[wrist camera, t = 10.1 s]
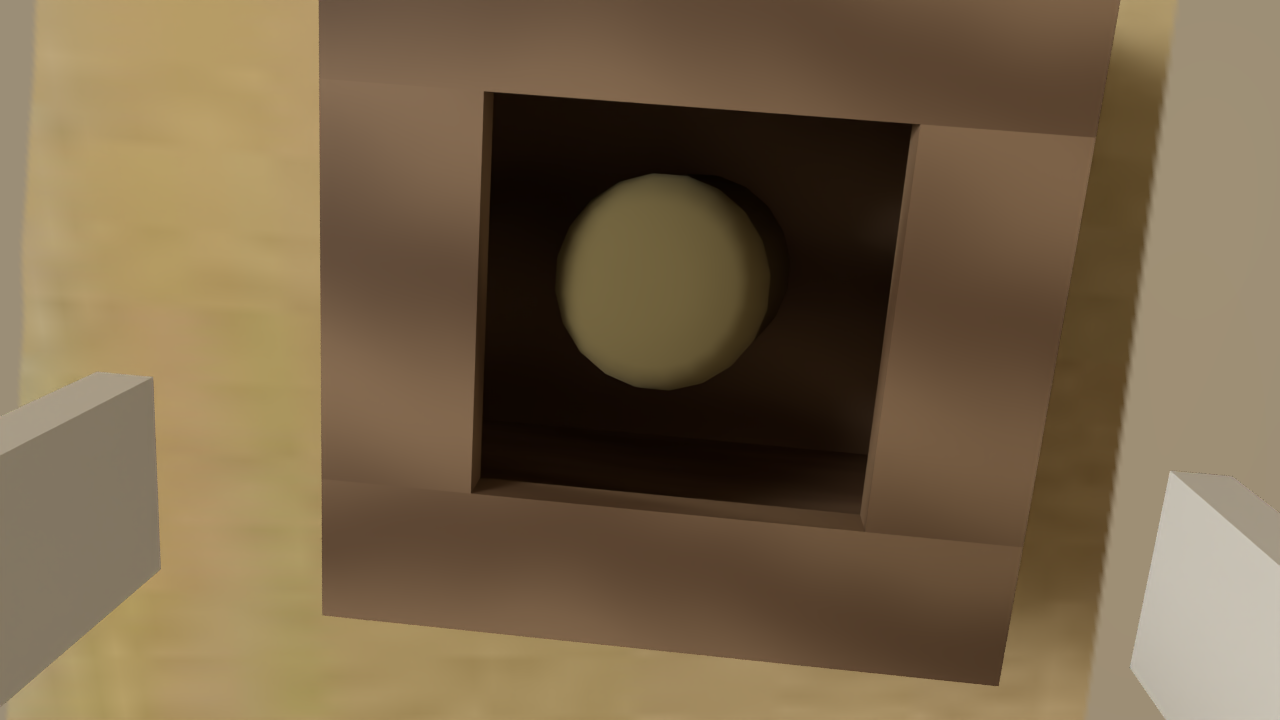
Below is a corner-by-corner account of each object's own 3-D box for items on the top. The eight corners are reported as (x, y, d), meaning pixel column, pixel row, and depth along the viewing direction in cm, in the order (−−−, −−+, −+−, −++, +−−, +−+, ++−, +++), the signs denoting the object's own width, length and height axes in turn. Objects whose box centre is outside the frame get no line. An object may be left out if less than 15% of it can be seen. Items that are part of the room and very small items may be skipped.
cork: (818, 319, 35) (828, 361, 24) (646, 387, 36) (583, 456, 26) (748, 143, 35) (727, 107, 24) (576, 217, 36) (482, 213, 25)
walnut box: (909, 481, 38) (998, 686, 25) (453, 438, 39) (322, 615, 26) (980, -5, 34) (1128, -47, 21) (467, -41, 35) (318, -101, 22)
